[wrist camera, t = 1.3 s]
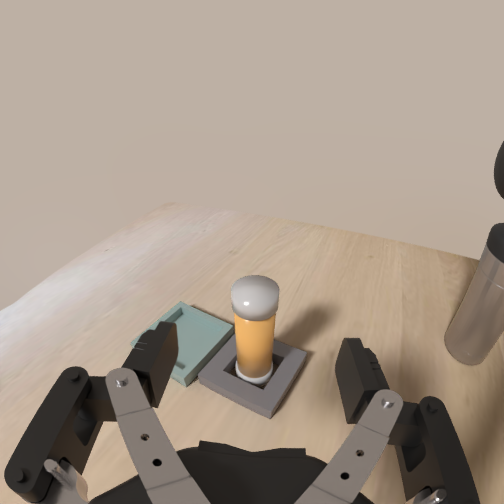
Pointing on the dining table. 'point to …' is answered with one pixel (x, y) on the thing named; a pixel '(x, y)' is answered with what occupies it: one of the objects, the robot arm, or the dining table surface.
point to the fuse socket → (245, 393)
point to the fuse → (254, 327)
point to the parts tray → (194, 339)
